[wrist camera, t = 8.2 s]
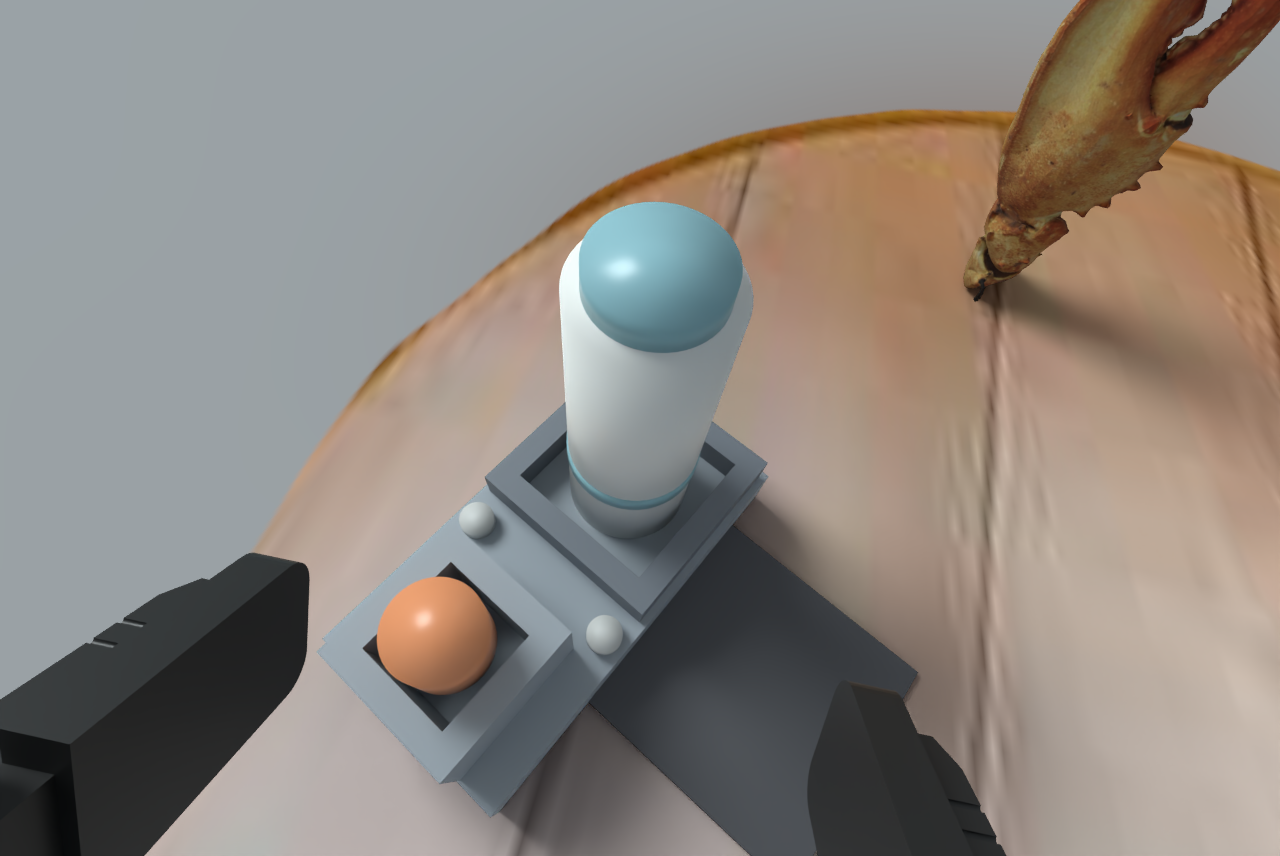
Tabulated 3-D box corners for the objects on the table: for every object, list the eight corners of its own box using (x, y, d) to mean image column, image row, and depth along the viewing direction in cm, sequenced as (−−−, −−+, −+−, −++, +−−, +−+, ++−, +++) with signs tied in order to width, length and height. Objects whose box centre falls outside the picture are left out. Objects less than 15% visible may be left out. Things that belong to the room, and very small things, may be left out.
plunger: (452, 576, 22) (437, 555, 20) (517, 638, 21) (509, 624, 19) (378, 648, 21) (353, 635, 19) (445, 717, 20) (427, 712, 18)
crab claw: (895, 282, 38) (1166, -137, 20) (922, 231, 40) (1189, -188, 22) (1006, 336, 36) (1402, -62, 19) (1028, 279, 39) (1400, -124, 21)
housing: (615, 388, 33) (620, 317, 27) (755, 496, 31) (790, 441, 25) (344, 648, 26) (282, 620, 21) (499, 811, 24) (474, 827, 18)
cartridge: (621, 412, 29) (647, 158, 17) (708, 479, 28) (804, 259, 16) (544, 488, 27) (510, 263, 15) (634, 564, 26) (678, 388, 14)
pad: (731, 526, 30) (732, 525, 30) (915, 673, 27) (918, 672, 27) (588, 702, 26) (588, 701, 26) (789, 892, 23) (791, 893, 23)
